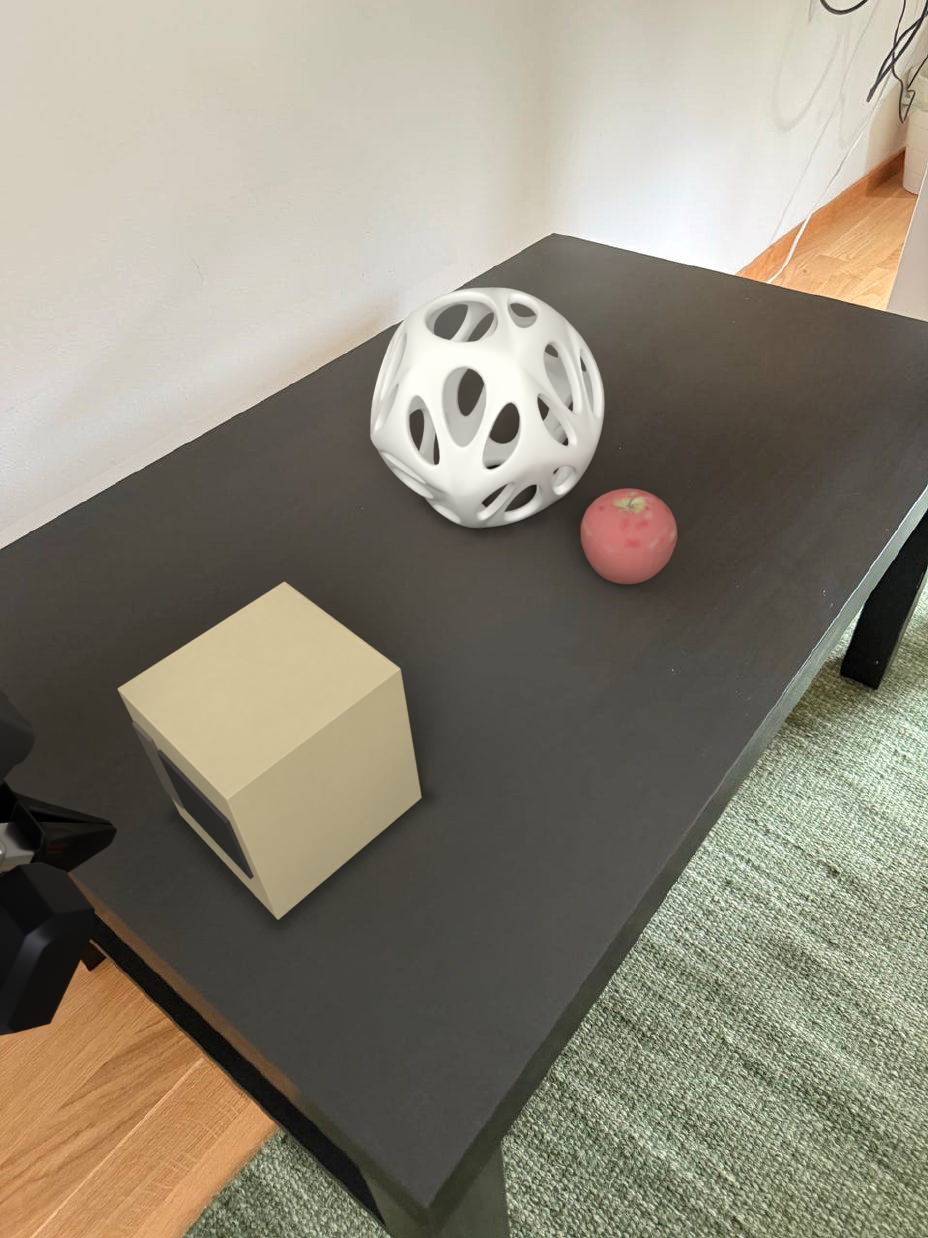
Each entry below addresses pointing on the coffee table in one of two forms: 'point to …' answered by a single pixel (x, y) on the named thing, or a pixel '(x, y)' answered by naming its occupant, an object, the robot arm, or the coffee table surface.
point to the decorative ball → (488, 407)
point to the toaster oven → (279, 742)
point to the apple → (628, 535)
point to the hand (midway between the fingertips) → (111, 833)
